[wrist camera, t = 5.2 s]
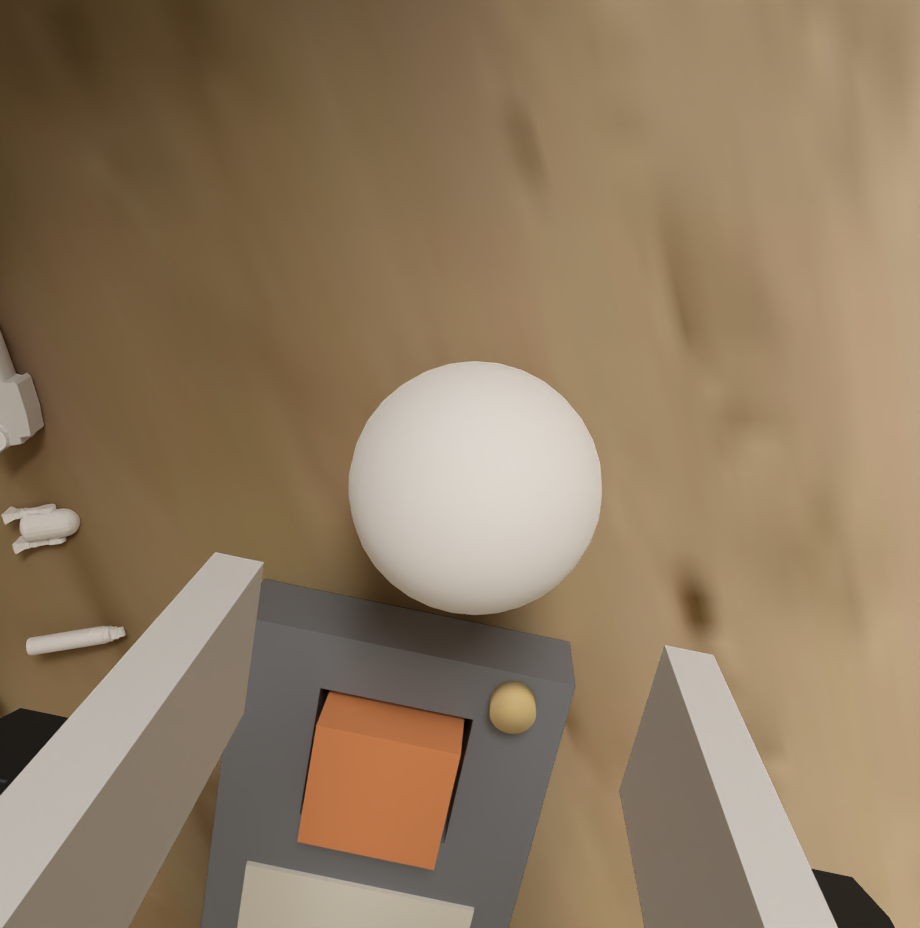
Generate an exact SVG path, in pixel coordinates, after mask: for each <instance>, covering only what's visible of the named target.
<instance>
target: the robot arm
mask: <svg viewBox="0 0 920 928" xmlns="http://www.w3.org/2000/svg"><path fill="white" fill-rule="evenodd" d="M263 566H264V562H260V561H255V560H251V559H246V558H241V557H236V556H231V555H226V554H222V553H217V552H215V553H214V554H213V555H212V556H211V557H210V559H209V560H208V561H207V562H206V563H205V564H204V565H203V566H202V568H201V569H200V570H199V571H198V572H197V573H196V574H195V576H194V577H193V578H192V579H191V580H190V581H189V582H188V583H187V585H186V586H185V587H184V588H183V589H182V590H181V591H180V593H179V594H178V595H177V596H176V597H175V598H174V599H173V600H172V602H171V603H170V604H169V605H168V606H167V607H166V608H165V610H164V611H163V612H162V613H161V614H160V615H159V616H158V617H157V619H156V620H155V621H154V622H153V623H152V624H151V625H150V627H149V628H148V629H147V630H146V631H145V632H144V633H143V634H142V636H141V637H140V638H139V639H138V640H137V641H136V642H135V644H134V645H133V646H132V647H131V648H130V649H129V650H128V651H127V653H126V654H125V655H124V656H123V657H122V658H121V659H120V661H119V662H118V663H117V664H116V665H115V666H114V667H113V668H112V670H111V671H110V672H109V673H108V674H107V675H106V676H105V678H104V679H103V680H102V681H101V682H100V683H99V684H98V685H97V687H96V688H95V689H94V690H93V691H92V692H91V693H90V695H89V696H88V697H87V698H86V699H85V700H84V701H83V702H82V704H81V705H80V706H79V707H78V708H77V709H76V710H75V712H74V713H73V714H72V715H71V716H70V717H69V718H66V717H61V716H56V715H51V714H46V713H42V712H37V711H32V710H27V709H22V708H20V709H18V710H16V711H14V712H12V713H10V714H8V715H6V716H4V717H2V718H0V928H128V927H129V926H130V924H131V922H132V920H133V918H134V916H135V914H136V913H137V911H138V909H139V907H140V905H141V903H142V901H143V900H144V898H145V896H146V894H147V892H148V890H149V888H150V887H151V885H152V883H153V881H154V879H155V877H156V875H157V874H158V872H159V870H160V868H161V866H162V864H163V862H164V861H165V859H166V857H167V855H168V853H169V851H170V849H171V848H172V846H173V844H174V842H175V840H176V838H177V836H178V835H179V833H180V831H181V829H182V827H183V825H184V824H185V822H186V820H187V818H188V816H189V814H190V812H191V811H192V809H193V807H194V805H195V803H196V801H197V799H198V798H199V796H200V794H201V792H202V790H203V788H204V786H205V785H206V783H207V781H208V779H209V777H210V775H211V773H212V772H213V770H214V768H215V766H216V764H217V762H218V760H219V759H220V757H221V755H222V753H223V751H224V749H225V747H226V746H227V744H228V742H229V740H230V738H231V736H232V734H233V733H234V731H235V729H236V727H237V725H238V723H239V721H240V720H241V718H242V716H243V714H244V709H245V702H246V694H247V687H248V679H249V671H250V664H251V656H252V649H253V641H254V634H255V626H256V619H257V611H258V603H259V596H260V588H261V581H262V573H263ZM619 792H620V798H621V803H622V809H623V814H624V819H625V825H626V830H627V836H628V841H629V846H630V852H631V857H632V862H633V868H634V873H635V879H636V884H637V889H638V895H639V900H640V906H641V911H642V916H643V922H644V927H645V928H895V927H894V925H893V923H892V922H891V920H890V918H889V917H888V916H887V915H886V914H885V912H884V911H883V910H882V909H881V908H880V907H879V906H878V905H877V904H876V903H875V902H874V900H873V899H872V898H871V897H870V896H869V895H868V894H867V893H866V892H865V891H864V890H863V888H862V887H861V886H860V885H859V884H858V883H857V882H856V881H855V880H854V879H853V878H852V877H849V876H844V875H839V874H834V873H829V872H824V871H820V870H815V869H811V868H810V865H809V863H808V861H807V859H806V857H805V854H804V852H803V850H802V848H801V846H800V843H799V841H798V839H797V837H796V835H795V833H794V830H793V828H792V826H791V824H790V822H789V819H788V817H787V815H786V813H785V811H784V808H783V806H782V804H781V802H780V800H779V798H778V795H777V793H776V791H775V789H774V787H773V784H772V782H771V780H770V778H769V776H768V773H767V771H766V769H765V767H764V765H763V763H762V760H761V758H760V756H759V754H758V752H757V749H756V747H755V745H754V743H753V741H752V738H751V736H750V734H749V732H748V730H747V727H746V725H745V723H744V721H743V719H742V717H741V714H740V712H739V710H738V708H737V706H736V703H735V701H734V699H733V697H732V695H731V692H730V690H729V688H728V686H727V684H726V682H725V679H724V677H723V675H722V673H721V671H720V668H719V666H718V664H717V662H716V660H715V657H714V655H710V654H705V653H701V652H696V651H691V650H686V649H681V648H676V647H672V646H667V645H664V648H663V652H662V655H661V658H660V661H659V664H658V668H657V671H656V674H655V677H654V681H653V684H652V687H651V690H650V693H649V697H648V700H647V703H646V706H645V709H644V713H643V716H642V719H641V722H640V726H639V729H638V732H637V735H636V738H635V742H634V745H633V748H632V751H631V754H630V758H629V761H628V764H627V767H626V771H625V774H624V777H623V780H622V783H621V787H620V790H619Z"/></svg>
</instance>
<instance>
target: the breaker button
mask: <svg viewBox="0 0 920 928" xmlns="http://www.w3.org/2000/svg"><path fill="white" fill-rule="evenodd" d="M463 726H464V718H462V717H458V716H453V715H448V714H443V713H438V712H433V711H429V710H424V709H419V708H414V707H409V706H404V705H400V704H395V703H390V702H385V701H380V700H375V699H371V698H366V697H361V696H356V695H351V694H346V693H341V692H337V691H332V690H330V691H329V694H328V696H327V699H326V702H325V704H324V707H323V709H322V712H321V715H320V717H319V720H318V722H317V725H316V731H315V737H314V743H313V749H312V755H311V761H310V767H309V773H308V779H307V785H306V791H305V797H304V803H303V809H302V815H301V822H300V828H299V834H298V840H297V842H300V843H305V844H310V845H315V846H319V847H324V848H329V849H334V850H339V851H343V852H348V853H353V854H358V855H363V856H368V857H372V858H377V859H382V860H387V861H392V862H397V863H401V864H406V865H411V866H416V867H421V868H426V869H430V870H434V868H435V863H436V859H437V855H438V850H439V846H440V842H441V838H442V833H443V829H444V825H445V820H446V816H447V812H448V808H449V803H450V799H451V795H452V790H453V786H454V782H455V778H456V773H457V769H458V765H459V760H460V756H461V747H462V737H463Z"/></svg>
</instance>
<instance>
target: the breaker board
mask: <svg viewBox="0 0 920 928" xmlns="http://www.w3.org/2000/svg"><path fill="white" fill-rule="evenodd" d="M574 689H575V678H574V671H573V663H572V656H571V649H570V642H567V641H562V640H557V639H552V638H547V637H542V636H537V635H533V634H528V633H523V632H518V631H513V630H508V629H504V628H499V627H494V626H489V625H484V624H479V623H475V622H470V621H465V620H460V619H455V618H450V617H445V616H441V615H436V614H431V613H426V612H421V611H416V610H412V609H407V608H402V607H397V606H392V605H387V604H382V603H378V602H373V601H368V600H363V599H358V598H353V597H349V596H344V595H339V594H334V593H329V592H324V591H320V590H315V589H310V588H305V587H300V586H295V585H290V584H286V583H281V582H276V581H271V580H266V579H265V580H264V581H263V582H262V584H261V588H260V596H259V603H258V611H257V619H256V626H255V634H254V641H253V649H252V656H251V664H250V671H249V679H248V687H247V694H246V702H245V709H244V714H243V716H242V718H241V720H240V721H239V723H238V725H237V727H236V729H235V731H234V733H233V734H232V736H231V738H230V740H229V742H228V744H227V746H226V747H225V749H224V751H223V753H222V761H221V769H220V777H219V785H218V793H217V801H216V809H215V817H214V825H213V833H212V841H211V849H210V857H209V865H208V873H207V881H206V889H205V897H204V905H203V913H202V921H201V928H509V924H510V920H511V917H512V913H513V910H514V906H515V902H516V899H517V895H518V892H519V888H520V884H521V881H522V877H523V873H524V870H525V866H526V863H527V859H528V855H529V852H530V848H531V845H532V841H533V837H534V834H535V830H536V826H537V823H538V819H539V816H540V812H541V808H542V805H543V801H544V798H545V794H546V790H547V787H548V783H549V779H550V776H551V772H552V769H553V765H554V761H555V758H556V754H557V751H558V747H559V743H560V740H561V736H562V732H563V729H564V725H565V722H566V718H567V714H568V711H569V707H570V704H571V700H572V696H573V693H574ZM330 690H332V691H337V692H341V693H346V694H351V695H356V696H361V697H366V698H371V699H375V700H380V701H385V702H390V703H395V704H400V705H404V706H409V707H414V708H419V709H424V710H429V711H433V712H438V713H443V714H448V715H453V716H458V717H462V718H467V719H466V724H465V728H464V732H463V737H462V747H461V756H460V760H459V765H458V769H457V773H456V778H455V782H454V786H453V790H452V795H451V799H450V803H449V808H448V812H447V816H446V820H445V825H444V829H443V833H442V838H441V842H440V846H439V850H438V855H437V859H436V863H435V868H434V870H430V869H426V868H421V867H416V866H411V865H406V864H401V863H397V862H392V861H387V860H382V859H377V858H372V857H368V856H363V855H358V854H353V853H348V852H343V851H339V850H334V849H329V848H324V847H319V846H315V845H310V844H305V843H300V842H297V840H298V834H299V828H300V822H301V815H302V809H303V803H304V797H305V791H306V785H307V779H308V773H309V767H310V761H311V755H312V749H313V743H314V737H315V731H316V725H317V722H318V720H319V717H320V715H321V712H322V709H323V707H324V704H325V702H326V699H327V696H328V694H329V691H330Z"/></svg>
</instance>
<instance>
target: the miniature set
mask: <svg viewBox="0 0 920 928" xmlns="http://www.w3.org/2000/svg"><path fill="white" fill-rule="evenodd" d="M43 426H44V423H43V418H42V413H41V407H40V403H39V400H38V397H37V394H36V390H35V387H34V384H33V381H32V378H31V376H30V375H29V374H28V373H25V374H23V375H20V374H16V372H15V369H14V366H13V363H12V361H11V358H10V355H9V353H8V350H7V347H6V344H5V342H4V339H3V336H2V333H1V331H0V453H1V452H2V451H4V450H3V449H4V448H5V447H6V446H7V447H6V448H8V447H9V446H12V445H18V444H23V443H24V442H25V441H26V440H28V439H29V438H30V437H32V436H33V435H34V434H35V432H37V431H38V430H39V429H41V428H42V427H43ZM6 448H5V449H6ZM1 450H2V451H1ZM1 516H2V519H3V522H4V524H5V525H6V524H7V523H9V522H11V521H13V520H15V519H20V518H21V517H22V518H21V520H20V532H21V535H22V536H20V537H19V538H18V539H17V540H16V541H15V542H14V543H13V544H12V548H13V550H14V553H15V554H17V553H19V552H21V551H23V550H24V549H29V548H31V547H33V548H34V547H38V546H42V545H48V544H49V545H55V544H61V543H63V542H65V541H66V540H67V539H66V537H67V536H69V535H72V534H73V533H75V532H76V531H77V530H78V528H79V526H80V518H79V516H78V515H77V514H76V513H75V512H74V511H72V510H70V509H63V508H62V509H56V506H55V504H47V505H42V506H40V507H33V508H24V509H23V508H21V509H16V508H14V507H12V506H11V507H9V508H8V509H7V510H6V511H5V512H4V513H3V514H2V515H1ZM125 635H126V634H125V631H124V627H117V626H116V627H112V626H99V627H93V628H87V629H80V630H74V631H68V632H62V633H55V634H49V635H43V636H37V637H30V638H28V640H27V642H26V650H27V653H28V654H29V655H38V654H44V653H50V652H56V651H62V650H69V649H75V648H81V647H87V646H93V645H99V644H105V643H108V642H111V641H113V640H114V639H119V637H123V636H125Z"/></svg>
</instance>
